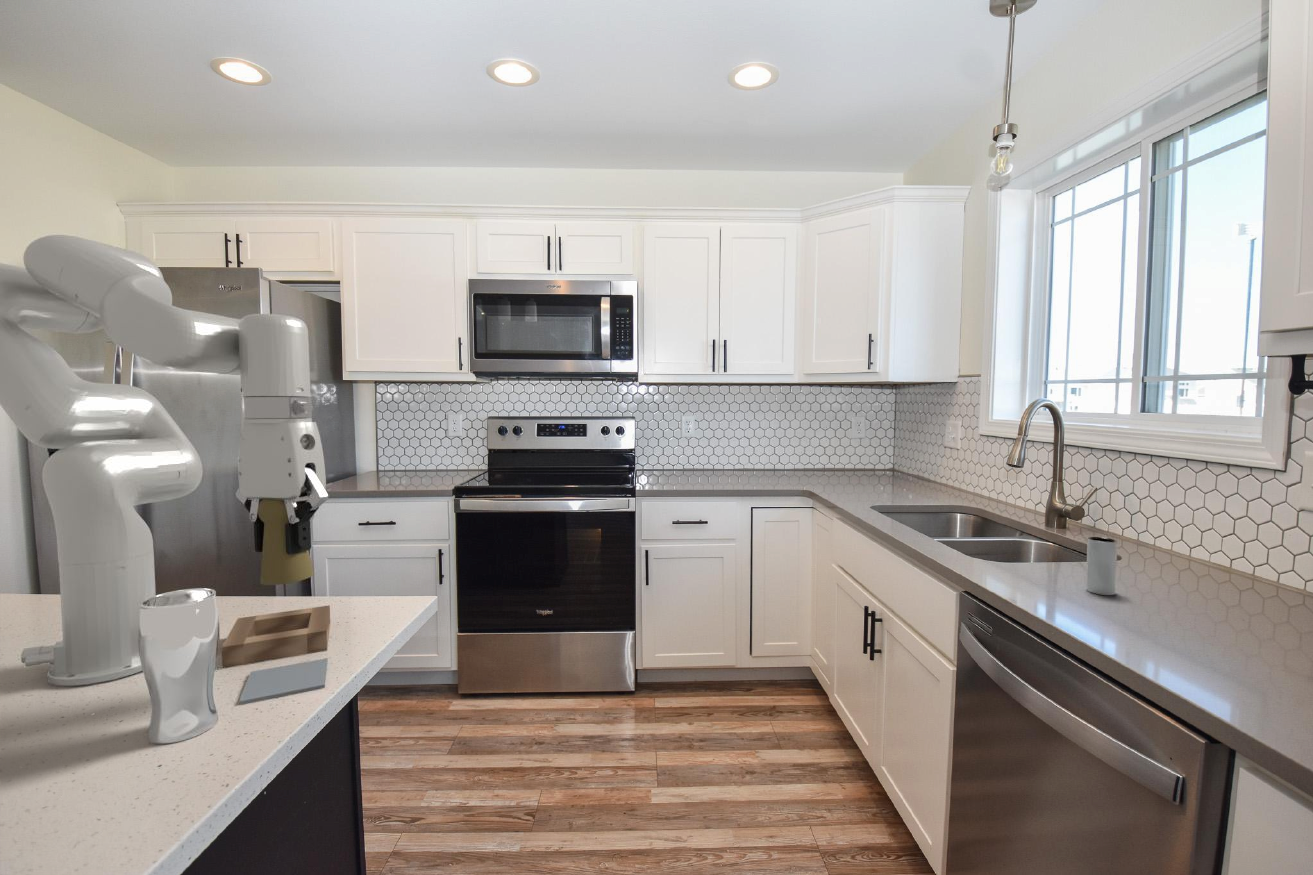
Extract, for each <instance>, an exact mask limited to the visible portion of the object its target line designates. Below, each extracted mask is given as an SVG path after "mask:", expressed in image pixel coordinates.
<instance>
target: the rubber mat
mask: <svg viewBox="0 0 1313 875" xmlns="http://www.w3.org/2000/svg"><path fill="white" fill-rule="evenodd" d="M327 668H328V657H326V658H319V659H315V660H310V661H303V662H298V663H293V664H292V663H291V664H287V665H281V666H276V667H270V668H269V667H268V668H264V669H258V670H254V671H250V672H249V674H248V678H247V680H246V682H245V685H244V687H243V689H242V690H243V691H242V693H241V695H240V698H239V701H238V705H239V706H240V705H241V706H242V705H244V704H249V703H254V702H259V701H260V702H261V701H264V700H270V699H275V698H278V697H280V698H281V697H285V696H290V695H294V694H300V693H304V692H309V691H313V690H320V689H325V686H326V678H327Z"/></svg>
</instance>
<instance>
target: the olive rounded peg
mask: <svg viewBox="0 0 1313 875" xmlns="http://www.w3.org/2000/svg"><path fill="white" fill-rule="evenodd" d="M299 497H300V496H299ZM296 505H297V509H298V508H299V507H300V506H301V502H298V503H296ZM258 515H259V517H260V519H261V520H262V521H263V522H264V536H263V551H262V552H261V553H262V555H261V569H260V581H259V582H260V584H261V585H263V586H278V585H287V584H291V583H292V584H293V583H296V582H300V581H304V580H306V579H309V578H311V577H313V576H314V575H315V572H314V567H313V564H312V560H311V559H312V558H311V554H310V550H307V551H303V552H300V553H296V554H292V555H291V554H287V552H286V536H285V524H287V523H290V522H289V518H288V514H287V510H286V505H285V501H284V500H276V499H263V500H262V501H261V502H260V503H259V506H258Z"/></svg>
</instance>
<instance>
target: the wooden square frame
mask: <svg viewBox="0 0 1313 875" xmlns="http://www.w3.org/2000/svg"><path fill="white" fill-rule="evenodd" d="M330 627H331V605H330V604H329V605H323V606H314V607H307V608H301V609H294V610H288V611H287V610H286V611H281V612H272V613H265V614H259V615H251V616H246V617H238V618H237V619H236V621H235V623H234V624H233V626H232V628H231V629H230V631H229V633H228V635H227V637H226V638H225V641H224V642H223V644H222V645H221V665H222V666H221V667H222V669H226V668H227V669H228V668H232V667H233V668H234V667H239V666H244V665H249V664H250V665H251V664H255V663H260V662H261V663H262V662H267V661H273V660H279V659H284V658H290V657H291V658H292V657H297V656H302V655H307V654H314V653H319V652H325V651H326V652H327V651H328V647H329V638H330Z"/></svg>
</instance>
